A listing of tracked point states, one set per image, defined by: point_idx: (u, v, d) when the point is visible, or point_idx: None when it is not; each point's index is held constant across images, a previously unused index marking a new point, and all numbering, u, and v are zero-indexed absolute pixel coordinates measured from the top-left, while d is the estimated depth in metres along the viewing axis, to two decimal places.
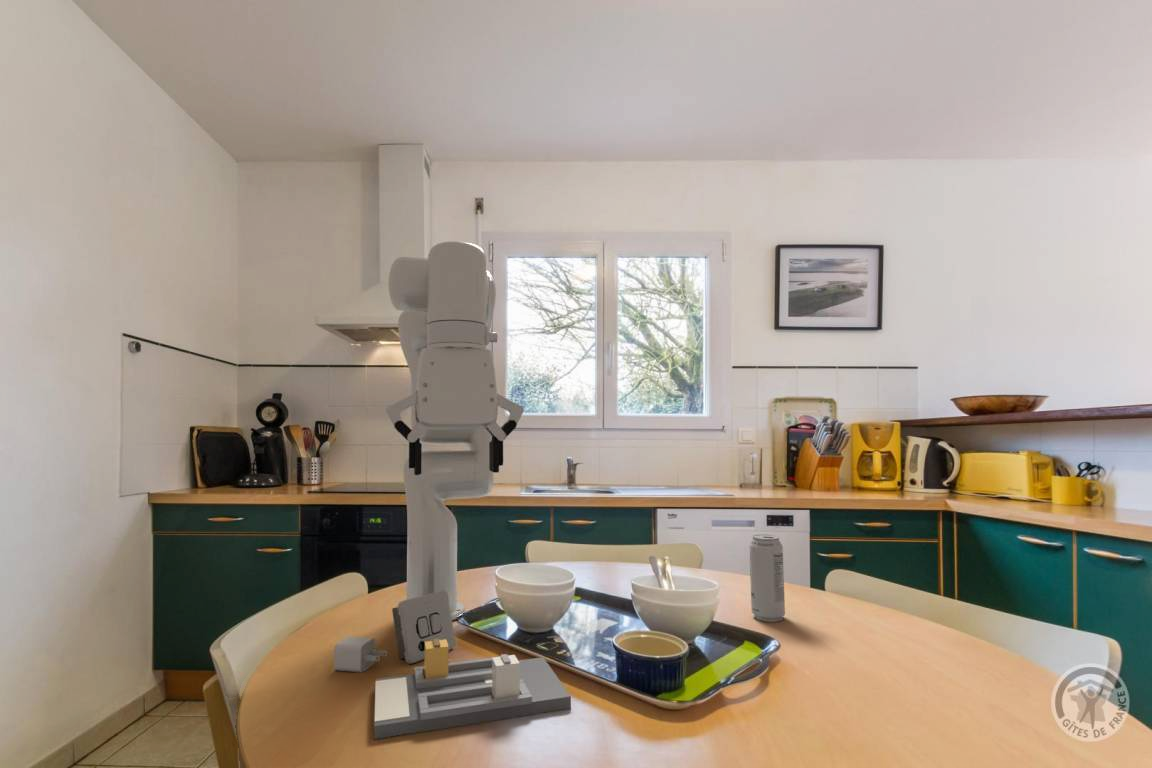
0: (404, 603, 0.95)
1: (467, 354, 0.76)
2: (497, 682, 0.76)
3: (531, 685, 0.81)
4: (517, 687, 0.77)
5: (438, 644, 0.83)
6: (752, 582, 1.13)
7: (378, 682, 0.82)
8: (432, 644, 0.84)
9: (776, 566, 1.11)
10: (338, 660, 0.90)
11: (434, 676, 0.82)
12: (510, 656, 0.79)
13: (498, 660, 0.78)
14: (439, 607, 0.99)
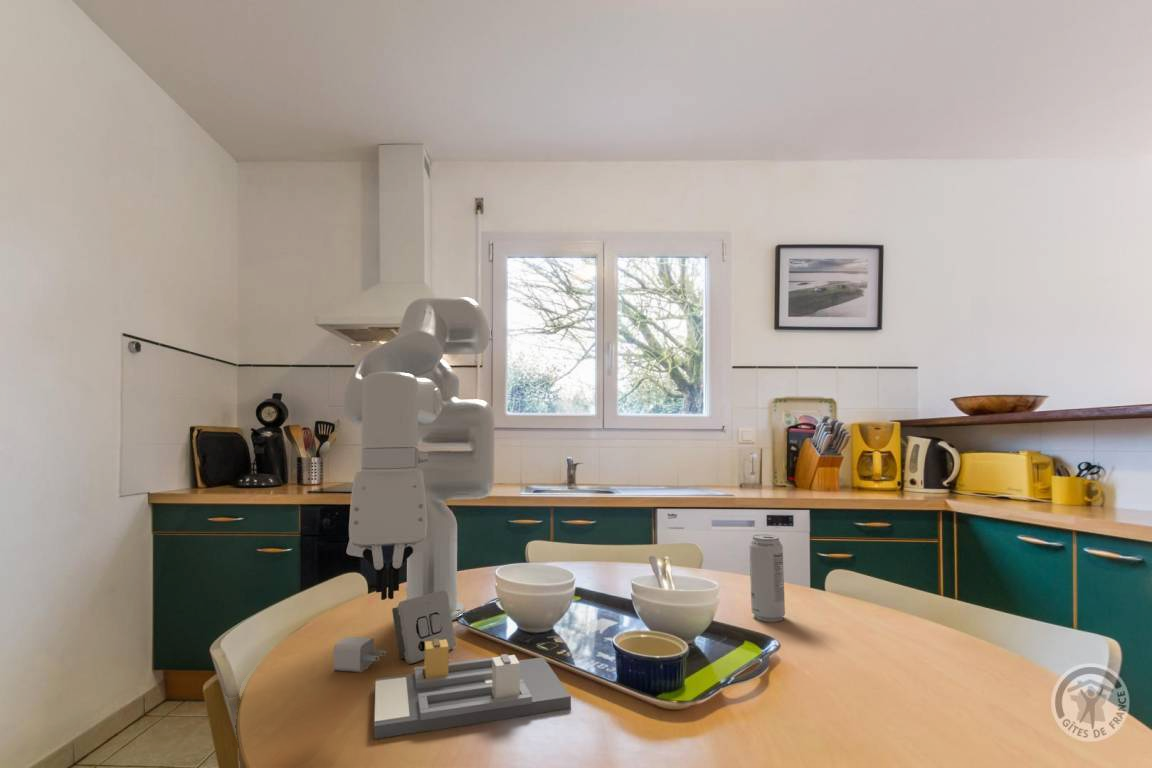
0: (404, 603, 0.95)
1: (397, 478, 0.81)
2: (497, 682, 0.76)
3: (531, 685, 0.81)
4: (517, 687, 0.77)
5: (438, 644, 0.83)
6: (752, 582, 1.13)
7: (378, 682, 0.82)
8: (432, 644, 0.84)
9: (776, 566, 1.11)
10: (337, 660, 0.90)
11: (434, 676, 0.82)
12: (510, 656, 0.79)
13: (498, 660, 0.78)
14: (439, 607, 0.99)
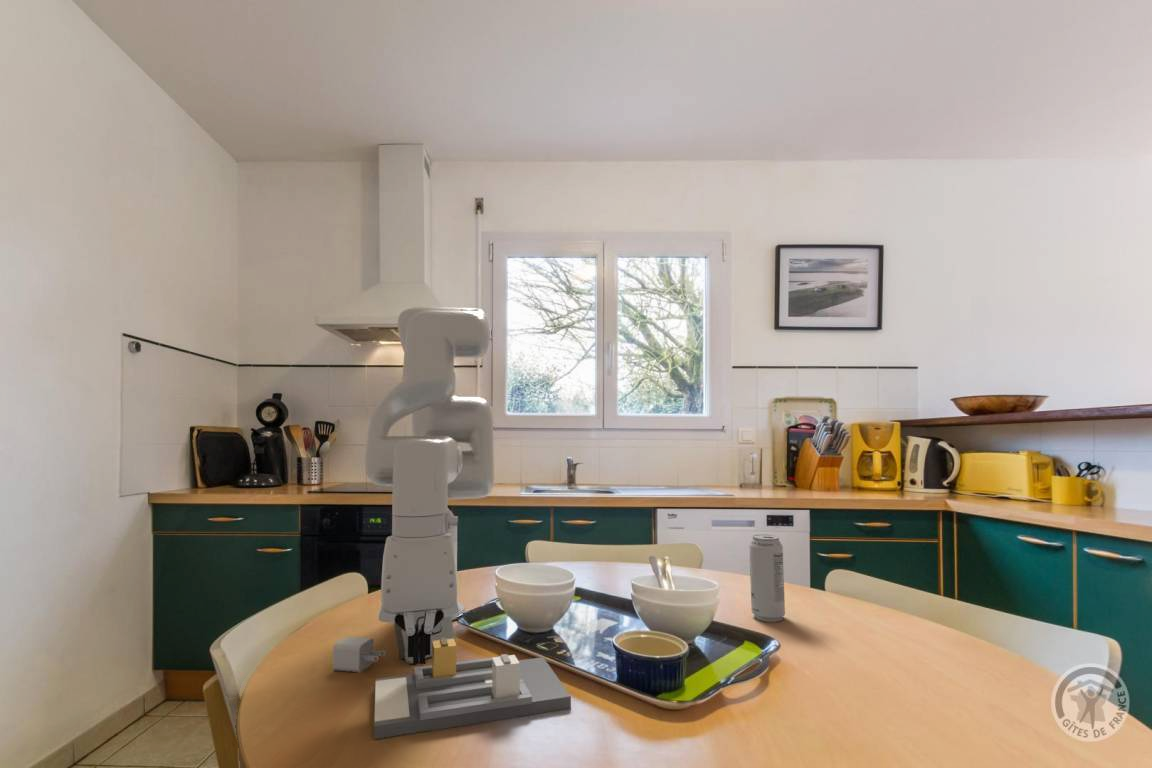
0: None
1: (428, 545, 0.82)
2: (497, 682, 0.76)
3: (531, 685, 0.81)
4: (517, 687, 0.77)
5: (446, 643, 0.83)
6: (752, 582, 1.13)
7: (378, 682, 0.82)
8: (440, 643, 0.84)
9: (776, 566, 1.11)
10: (337, 660, 0.90)
11: (442, 675, 0.82)
12: (510, 656, 0.79)
13: (498, 660, 0.78)
14: None
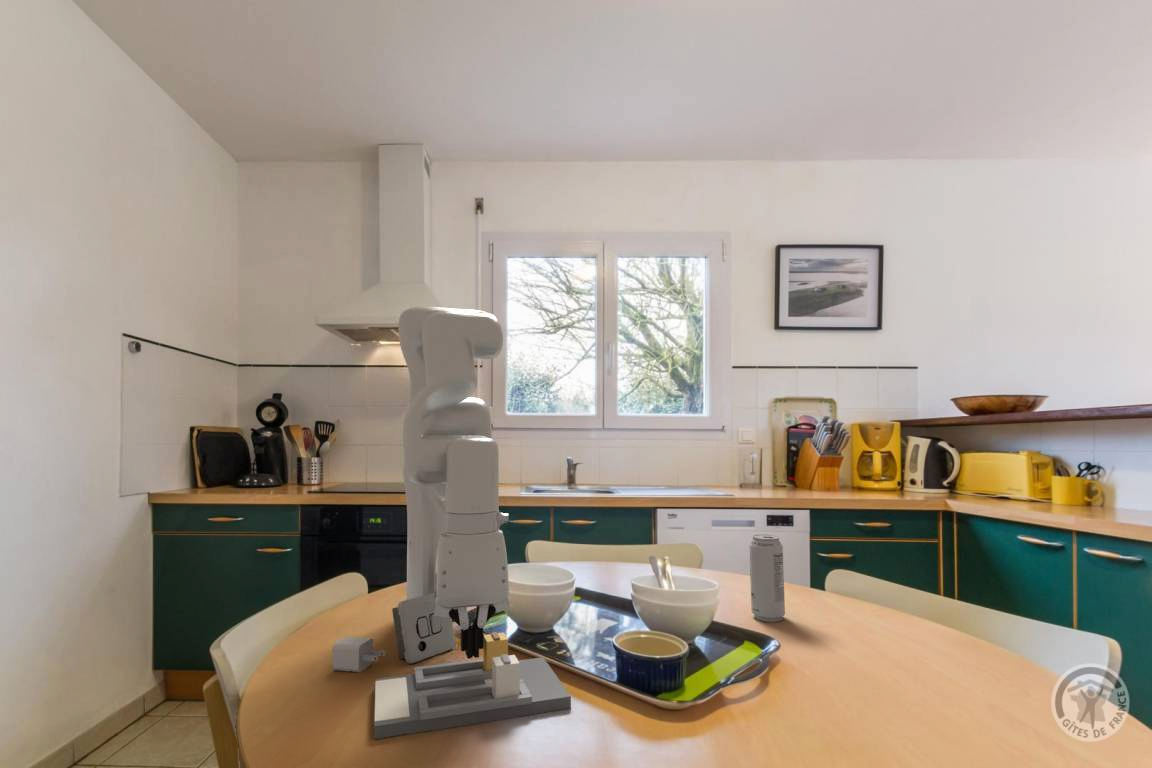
0: (404, 603, 0.95)
1: (481, 541, 0.84)
2: (497, 682, 0.76)
3: (531, 685, 0.81)
4: (517, 687, 0.77)
5: (498, 637, 0.86)
6: (752, 582, 1.13)
7: (378, 682, 0.82)
8: (491, 637, 0.86)
9: (776, 566, 1.11)
10: (336, 660, 0.90)
11: None
12: (510, 656, 0.79)
13: (498, 660, 0.78)
14: None
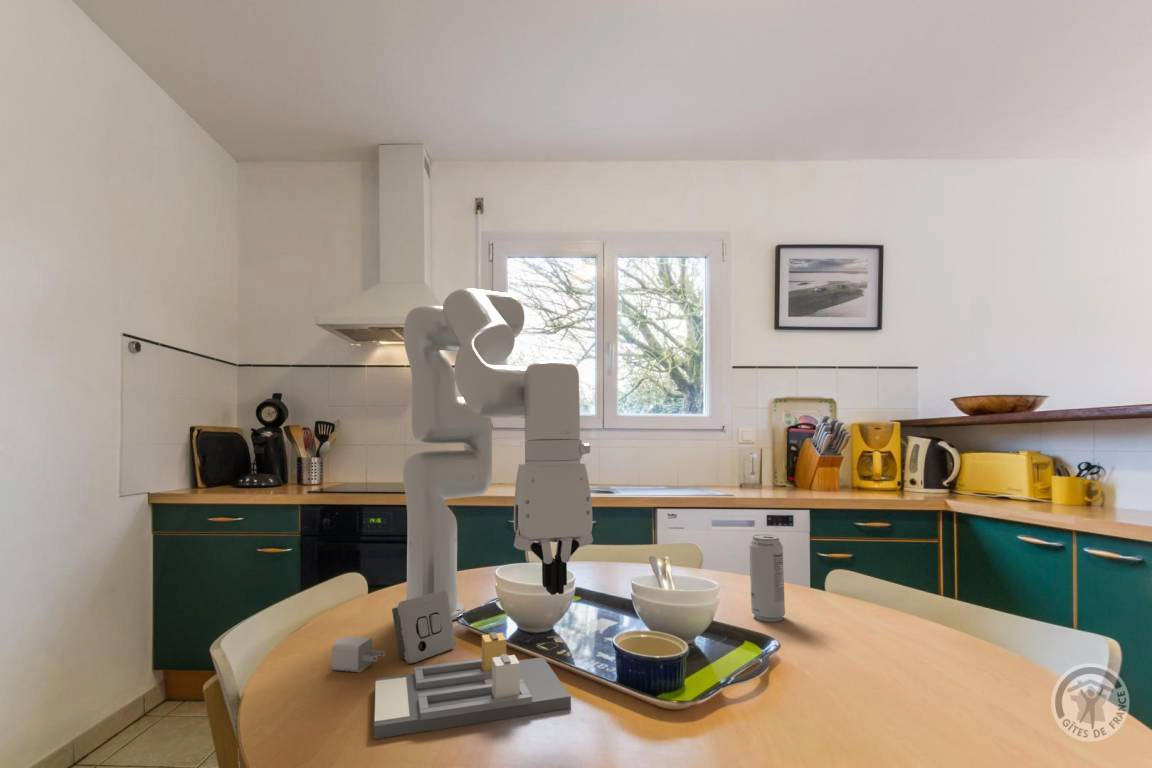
0: (404, 603, 0.95)
1: (565, 470, 0.79)
2: (497, 682, 0.76)
3: (531, 685, 0.81)
4: (517, 687, 0.77)
5: (496, 637, 0.85)
6: (752, 582, 1.13)
7: (378, 682, 0.82)
8: (490, 637, 0.86)
9: (776, 566, 1.11)
10: (335, 660, 0.90)
11: None
12: (510, 656, 0.79)
13: (498, 660, 0.78)
14: (438, 607, 0.99)
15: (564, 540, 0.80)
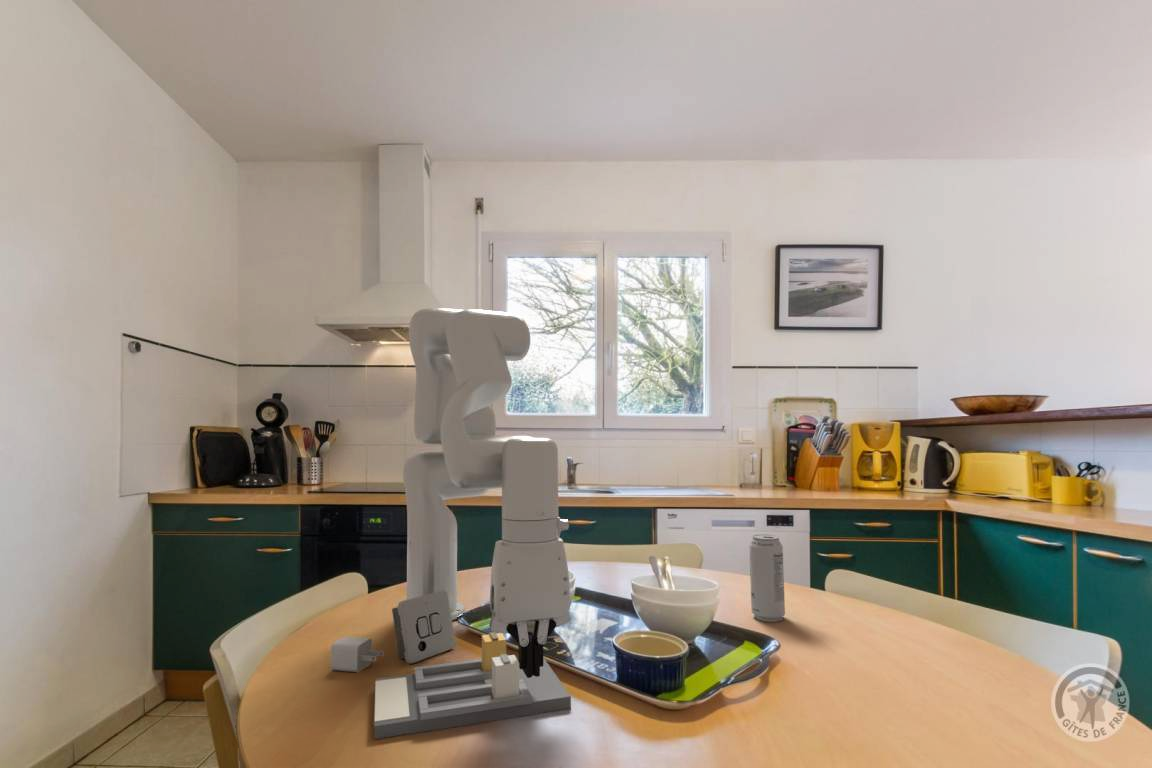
0: (404, 603, 0.95)
1: (542, 550, 0.78)
2: (497, 682, 0.76)
3: (531, 685, 0.81)
4: (516, 688, 0.77)
5: (496, 637, 0.85)
6: (752, 582, 1.13)
7: (378, 682, 0.82)
8: (490, 637, 0.86)
9: (776, 566, 1.11)
10: (335, 660, 0.90)
11: None
12: (510, 656, 0.79)
13: (498, 660, 0.78)
14: (438, 607, 0.99)
15: (541, 621, 0.78)
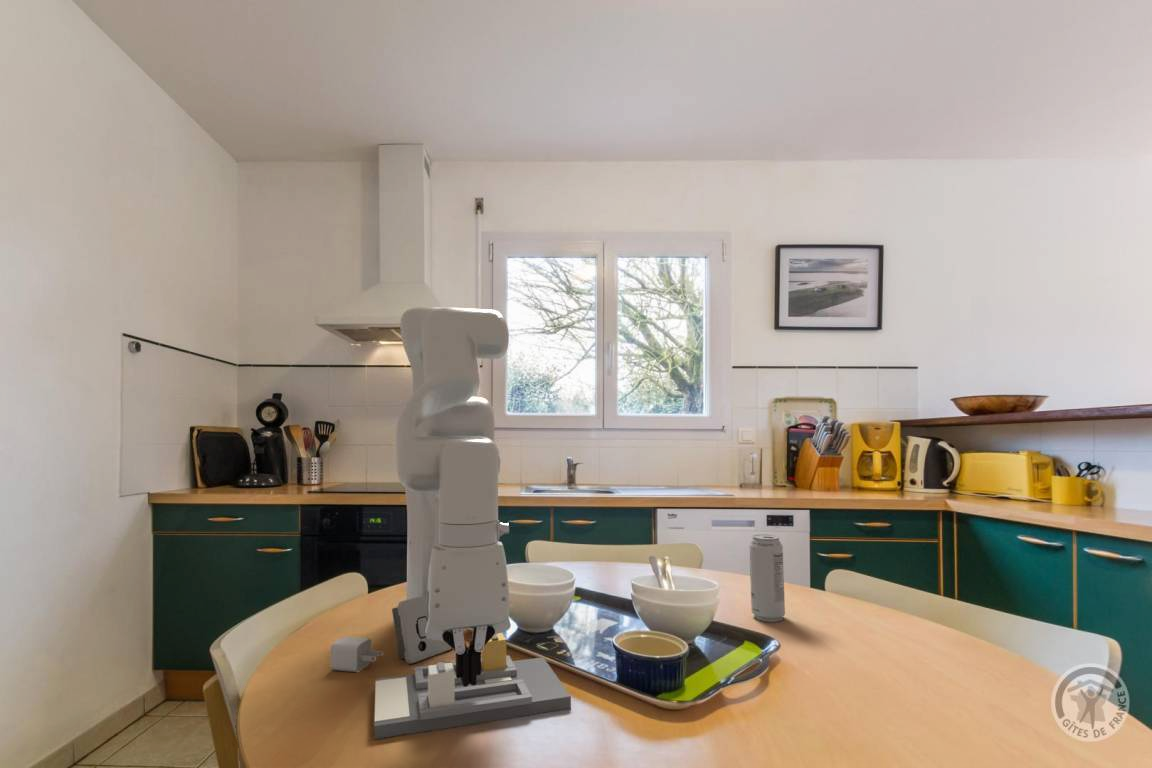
0: (404, 603, 0.95)
1: (479, 555, 0.75)
2: (431, 691, 0.73)
3: (531, 685, 0.81)
4: (451, 697, 0.74)
5: (496, 637, 0.85)
6: (752, 582, 1.13)
7: (378, 682, 0.82)
8: None
9: (776, 566, 1.11)
10: (334, 660, 0.90)
11: (493, 668, 0.85)
12: (447, 664, 0.77)
13: (434, 668, 0.75)
14: None
15: (478, 628, 0.76)
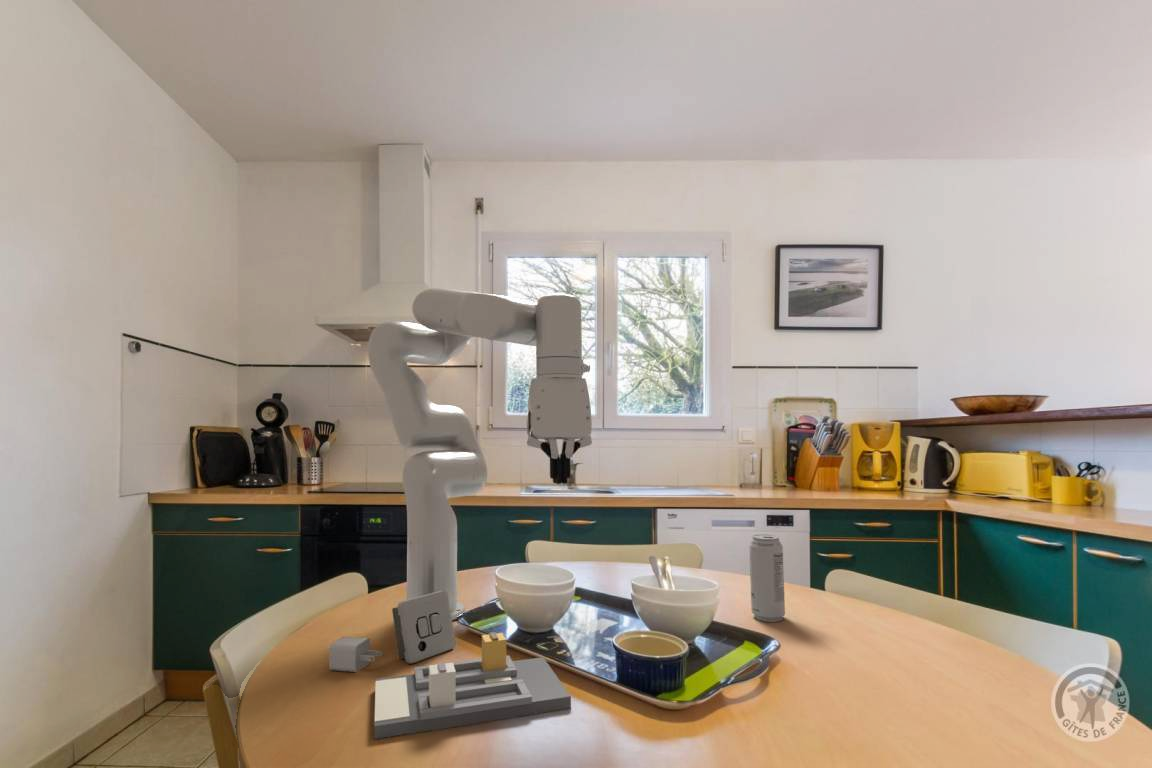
0: (404, 603, 0.95)
1: (569, 382, 0.97)
2: (431, 691, 0.73)
3: (531, 685, 0.81)
4: (452, 697, 0.74)
5: (496, 637, 0.85)
6: (752, 582, 1.13)
7: (378, 682, 0.82)
8: (490, 637, 0.86)
9: (776, 566, 1.11)
10: (333, 660, 0.90)
11: (493, 668, 0.85)
12: (448, 664, 0.77)
13: (435, 668, 0.75)
14: (439, 607, 0.99)
15: (568, 440, 0.97)
